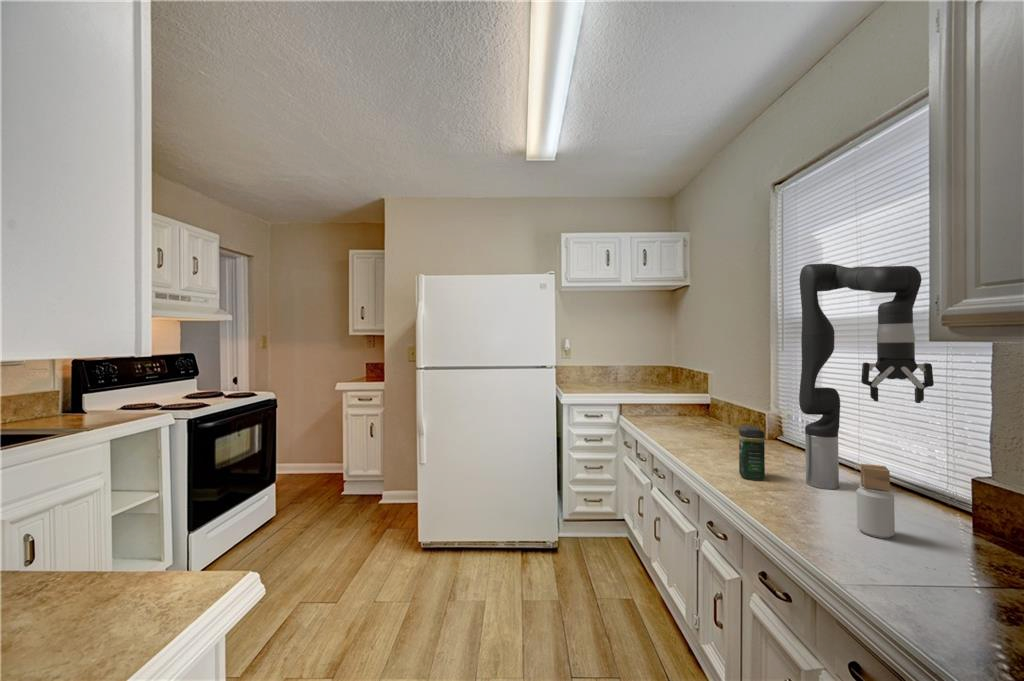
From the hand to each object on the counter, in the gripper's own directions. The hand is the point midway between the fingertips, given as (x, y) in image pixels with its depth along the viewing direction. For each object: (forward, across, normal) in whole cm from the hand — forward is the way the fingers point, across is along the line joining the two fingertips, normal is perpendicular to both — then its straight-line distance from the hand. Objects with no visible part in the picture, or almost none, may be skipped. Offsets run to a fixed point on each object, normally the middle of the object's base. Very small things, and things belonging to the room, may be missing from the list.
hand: (896, 401), depth 116 cm
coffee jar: (+33, +35, -29) cm, 56 cm away
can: (+33, +6, +8) cm, 35 cm away
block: (+21, +6, +8) cm, 23 cm away
